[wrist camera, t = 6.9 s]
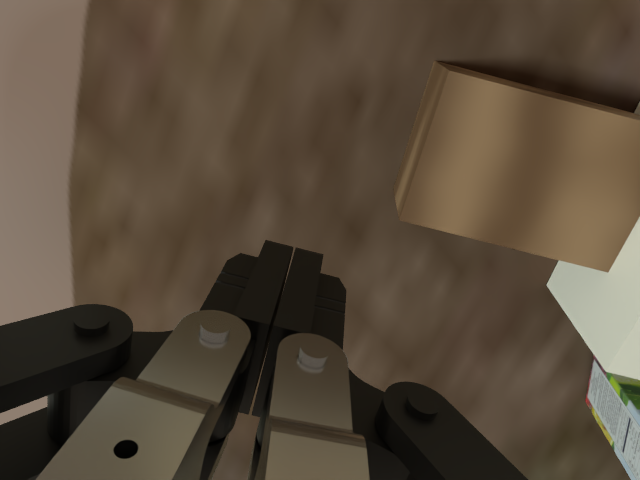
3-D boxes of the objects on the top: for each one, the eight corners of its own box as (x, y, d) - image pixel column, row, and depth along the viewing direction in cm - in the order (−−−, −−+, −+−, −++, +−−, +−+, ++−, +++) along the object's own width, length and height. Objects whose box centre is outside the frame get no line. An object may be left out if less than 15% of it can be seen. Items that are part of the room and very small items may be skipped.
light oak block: (630, 112, 29) (686, 132, 24) (570, 232, 33) (608, 272, 28) (433, 60, 29) (449, 70, 24) (392, 187, 32) (399, 220, 27)
